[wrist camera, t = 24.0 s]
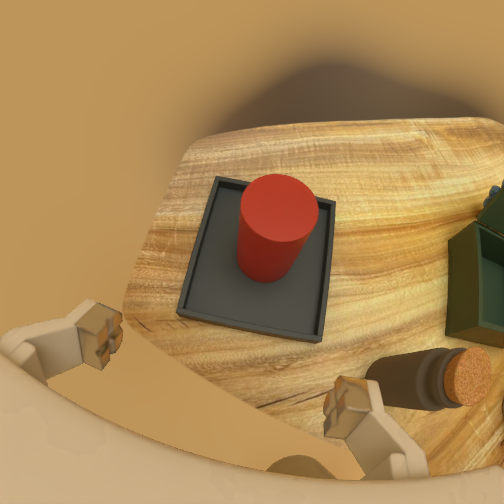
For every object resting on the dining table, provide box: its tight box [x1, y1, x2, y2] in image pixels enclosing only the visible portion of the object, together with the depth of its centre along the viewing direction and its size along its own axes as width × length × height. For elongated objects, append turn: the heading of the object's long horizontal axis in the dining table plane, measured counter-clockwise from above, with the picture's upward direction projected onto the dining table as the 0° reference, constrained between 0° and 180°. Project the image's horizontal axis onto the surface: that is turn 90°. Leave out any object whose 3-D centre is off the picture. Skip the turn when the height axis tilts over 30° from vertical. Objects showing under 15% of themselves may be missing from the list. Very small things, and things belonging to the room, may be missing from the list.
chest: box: [445, 221, 504, 348], centre depth 31 cm, size 15×15×7 cm
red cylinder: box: [237, 174, 319, 283], centre depth 29 cm, size 6×6×11 cm
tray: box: [176, 176, 336, 344], centre depth 33 cm, size 17×15×2 cm
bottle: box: [365, 347, 491, 411], centre depth 23 cm, size 6×6×15 cm
